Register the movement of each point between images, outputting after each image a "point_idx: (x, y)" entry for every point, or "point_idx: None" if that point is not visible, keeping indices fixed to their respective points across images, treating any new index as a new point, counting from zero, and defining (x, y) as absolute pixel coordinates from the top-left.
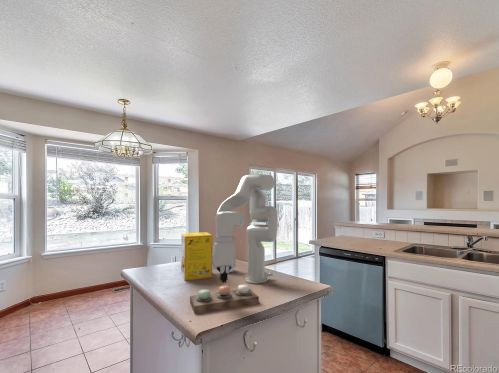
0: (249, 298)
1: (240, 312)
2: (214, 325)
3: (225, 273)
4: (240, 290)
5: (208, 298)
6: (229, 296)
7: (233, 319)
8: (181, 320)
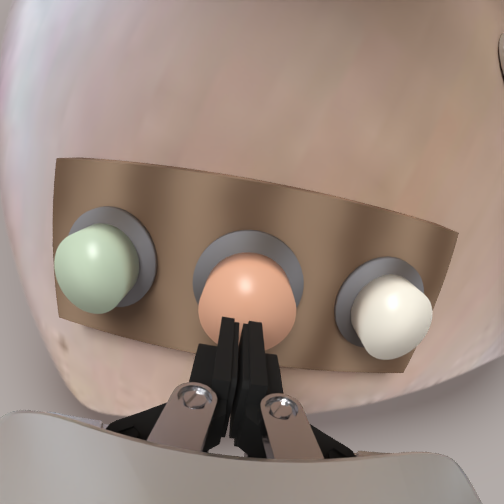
0: (357, 370)
1: None
2: (134, 412)
3: (235, 445)
4: (358, 334)
5: None
6: None
7: None
8: (37, 322)
